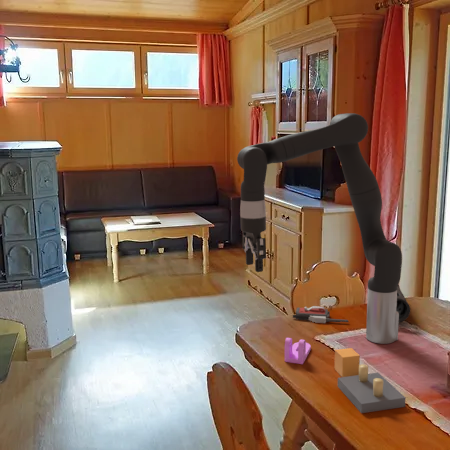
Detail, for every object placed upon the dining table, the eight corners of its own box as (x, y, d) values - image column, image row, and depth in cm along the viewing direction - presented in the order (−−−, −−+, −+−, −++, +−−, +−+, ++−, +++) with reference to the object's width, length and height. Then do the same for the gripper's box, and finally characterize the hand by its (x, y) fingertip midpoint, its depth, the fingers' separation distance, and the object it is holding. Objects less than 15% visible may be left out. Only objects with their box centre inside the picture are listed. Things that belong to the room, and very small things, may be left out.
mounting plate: (377, 380, 147) (378, 359, 146) (405, 406, 134) (406, 382, 132) (337, 386, 145) (338, 364, 143) (361, 413, 131) (362, 389, 130)
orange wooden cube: (351, 367, 156) (351, 347, 154) (359, 375, 151) (359, 355, 149) (334, 369, 155) (334, 349, 153) (342, 377, 150) (342, 357, 148)
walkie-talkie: (291, 322, 192) (348, 326, 187) (291, 310, 191) (348, 314, 187) (294, 313, 200) (348, 317, 196) (294, 302, 199) (348, 305, 195)
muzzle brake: (382, 325, 187) (383, 297, 185) (372, 299, 214) (373, 274, 212) (410, 326, 185) (411, 298, 183) (397, 299, 212) (398, 274, 210)
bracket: (302, 364, 158) (302, 342, 157) (284, 361, 160) (284, 340, 159) (312, 347, 170) (312, 326, 169) (295, 345, 172) (295, 324, 171)
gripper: (273, 218, 151) (274, 272, 154) (256, 210, 164) (257, 260, 167) (248, 220, 149) (250, 275, 152) (233, 212, 162) (235, 263, 165)
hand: (254, 267), depth 159 cm, fingers open, 8 cm apart
